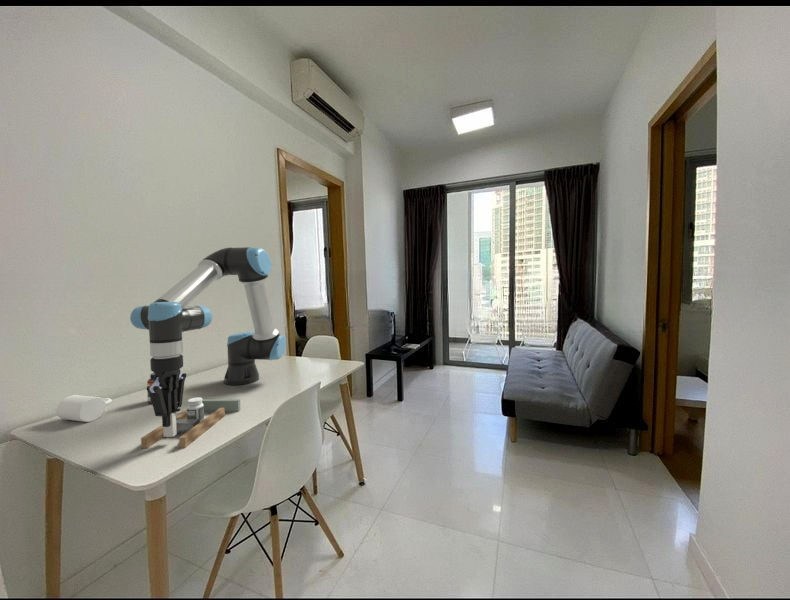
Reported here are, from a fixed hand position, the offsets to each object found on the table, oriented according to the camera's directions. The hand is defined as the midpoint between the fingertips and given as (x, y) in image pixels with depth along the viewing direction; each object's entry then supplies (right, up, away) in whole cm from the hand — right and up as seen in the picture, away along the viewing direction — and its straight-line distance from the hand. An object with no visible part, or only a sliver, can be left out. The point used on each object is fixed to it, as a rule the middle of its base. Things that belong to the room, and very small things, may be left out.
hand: (170, 435), depth 88 cm
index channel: (0, -2, +8) cm, 8 cm away
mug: (-41, -2, +18) cm, 45 cm away
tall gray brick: (0, -2, +7) cm, 7 cm away
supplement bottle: (-29, -1, +32) cm, 43 cm away
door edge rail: (-1, -1, +23) cm, 23 cm away
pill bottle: (-1, -2, +12) cm, 12 cm away
